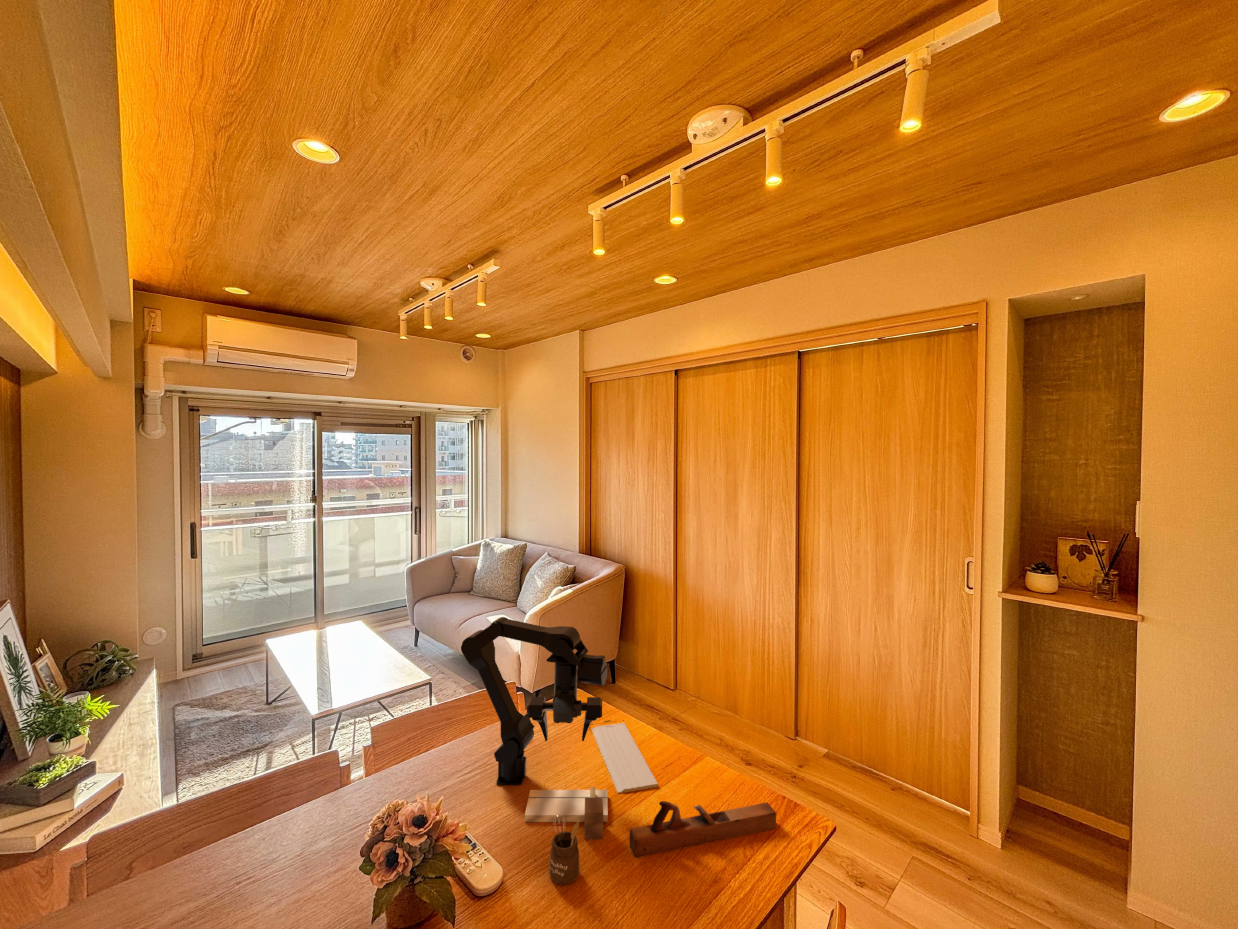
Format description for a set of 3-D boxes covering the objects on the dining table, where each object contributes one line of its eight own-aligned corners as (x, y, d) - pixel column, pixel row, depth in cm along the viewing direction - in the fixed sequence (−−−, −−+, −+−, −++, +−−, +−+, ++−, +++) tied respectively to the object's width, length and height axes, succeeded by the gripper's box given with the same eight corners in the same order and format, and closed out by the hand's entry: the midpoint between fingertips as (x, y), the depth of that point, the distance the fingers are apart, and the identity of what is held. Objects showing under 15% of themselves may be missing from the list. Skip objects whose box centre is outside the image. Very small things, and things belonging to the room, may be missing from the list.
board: (524, 822, 119) (524, 815, 119) (530, 796, 128) (530, 789, 128) (607, 822, 120) (607, 814, 120) (607, 796, 129) (607, 789, 129)
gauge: (584, 839, 114) (585, 812, 114) (584, 800, 127) (584, 776, 127) (602, 839, 115) (603, 812, 115) (600, 800, 128) (601, 775, 127)
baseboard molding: (612, 797, 130) (657, 789, 133) (612, 785, 130) (657, 778, 133) (586, 732, 160) (624, 727, 163) (586, 722, 160) (624, 718, 163)
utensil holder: (564, 858, 109) (565, 801, 109) (586, 874, 105) (587, 815, 105) (543, 875, 104) (544, 816, 104) (565, 892, 100) (566, 831, 100)
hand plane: (636, 865, 108) (637, 817, 108) (628, 847, 113) (629, 801, 113) (776, 829, 119) (777, 786, 119) (763, 814, 124) (764, 773, 124)
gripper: (523, 693, 123) (522, 759, 123) (602, 694, 124) (601, 759, 124) (530, 674, 134) (529, 734, 135) (602, 674, 135) (601, 734, 135)
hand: (564, 740), depth 132 cm, fingers open, 9 cm apart
